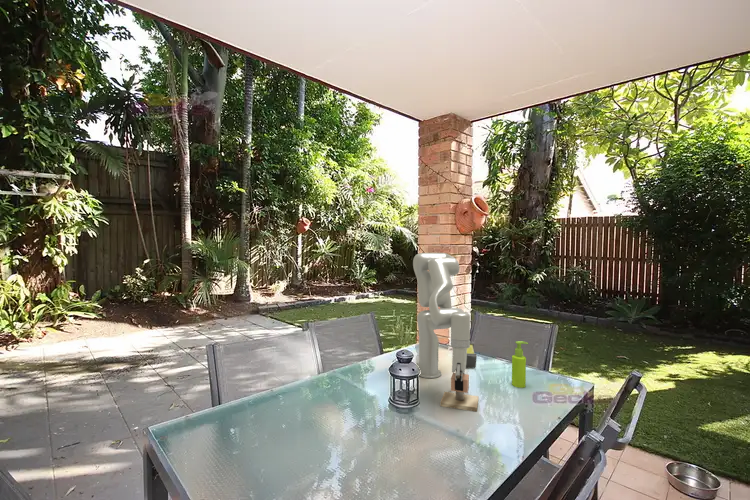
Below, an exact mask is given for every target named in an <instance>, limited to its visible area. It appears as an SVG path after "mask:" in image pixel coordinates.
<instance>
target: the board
mask: <svg viewBox="0 0 750 500" xmlns="http://www.w3.org/2000/svg"><path fill="white" fill-rule="evenodd" d="M439 405H440V407H444V408H449V409H451V408H452V409H458V410H464V411H470V412H478V407H479V396H478V395H471V394H466V393H464V392H457V391H455V392H450V391H444V392H443V395H442V397H441V400H440V403H439Z"/></svg>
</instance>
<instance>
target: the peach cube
mask: <svg viewBox="0 0 750 500" xmlns="http://www.w3.org/2000/svg"><path fill="white" fill-rule="evenodd" d="M455 375H456V372H454V373H453V372H452V374H451V378H450V391H452V392H456V391H457V392H464V394H468V392H469V388H470V385H469V384H470V382H469V381H470V380H469V379H470V375H469V374H465V373H464V374H463V391H458V390H455ZM460 376H461V374H460Z"/></svg>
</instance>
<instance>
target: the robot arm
mask: <svg viewBox="0 0 750 500" xmlns="http://www.w3.org/2000/svg"><path fill="white" fill-rule="evenodd" d="M412 266H413V267H412V268H413V271H414V274H415V277H416V280H417V282H416V283H417V294H418V296H417V297H418V303H419V305H420V306H421V307H423V308H428V309H425V310H422V311H419V312H418V314H417V317H416V318H417V319H416V320H417V321H416V322H417V327H418V363H416V364H417V365H418V366H419V368H420V370H421V374H420V376H419V377H421V378H425V379H436V378H440V377H441V376H442V371H441V370H440V369H439V337H438V335H437V334H436V332H435V331H434V330H447V329H450V347H451V348H452V359H451V360H452V361H451V363H452V365H451V372H452V374H453V373H456V375H455V390H458V391H463V374H465V372H466V369H467V367H466V361H467V348H470V341H471V315H470V313H468V312H466V311H464V310H463V309H462V308H458V307H454V308H453V307H452V299H451V294H450V292H451V291H452V290H453V287H454V284H453V282H452V279H451V276H456V275H458V274H459V273H460V264H459V261H458V260H457V258H455V257H454V256H453V255H450V254H448V253H447V252H421V253H417V254H415V256H414V257H413V260H412ZM460 374H461V376H460Z"/></svg>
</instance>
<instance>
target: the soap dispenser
mask: <svg viewBox="0 0 750 500" xmlns="http://www.w3.org/2000/svg"><path fill="white" fill-rule="evenodd" d="M515 344H516V347H515V348H514V354H513V355H511V386H512V387H514V388H518V389H519V388H522V389H523V388H526V385H527V384H526V378H527V377H526V376H527V375H526V374H527V372H526V371H527V370H526V369H527V363H526V362H527V357H526V356H525V355H524V348H522V345H523V344H524V345H525V344H526V345H529V342H527V341H522V340H520V341H519V340H518V341H515Z"/></svg>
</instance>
